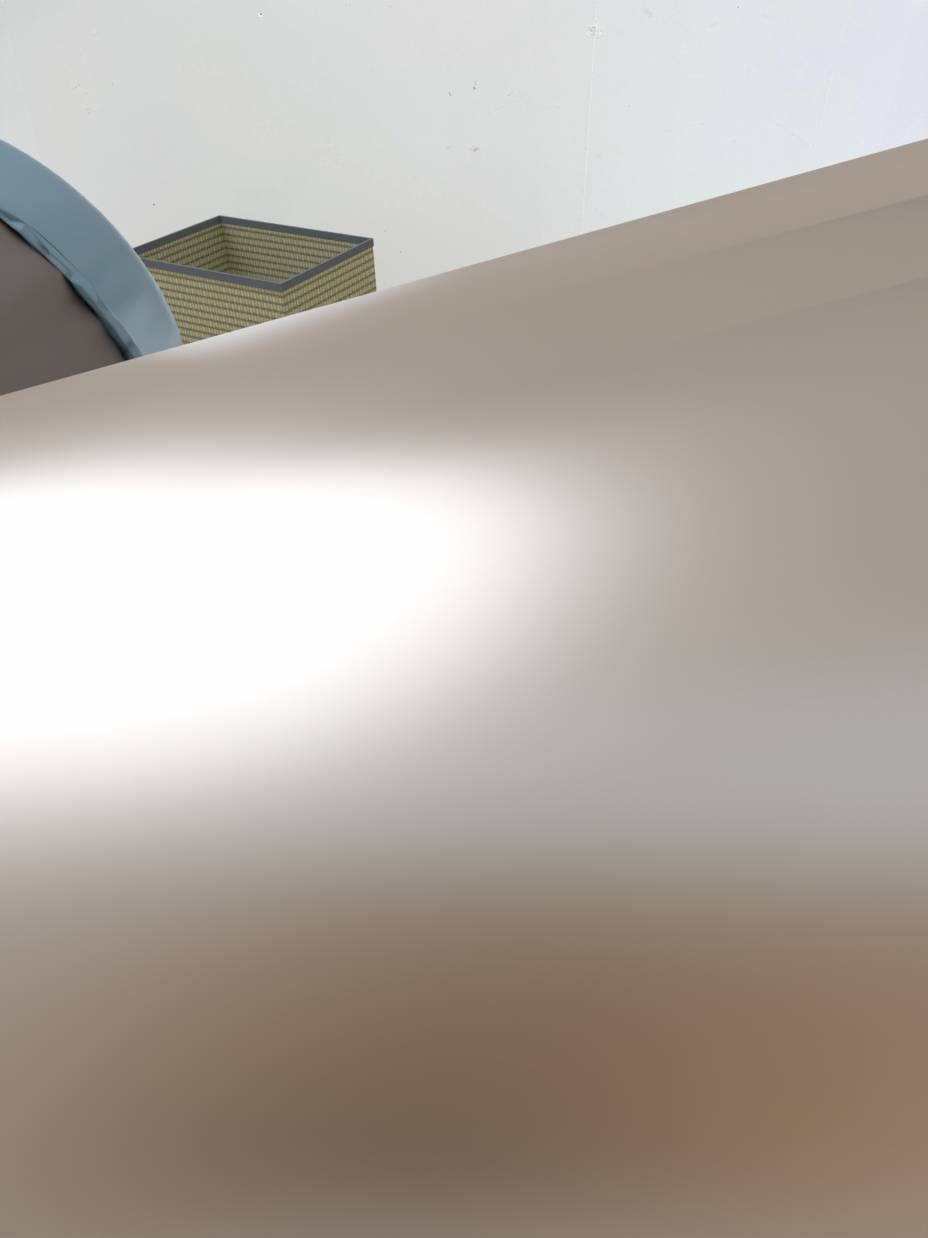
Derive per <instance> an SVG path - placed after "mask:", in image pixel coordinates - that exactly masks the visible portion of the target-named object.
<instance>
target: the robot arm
mask: <svg viewBox="0 0 928 1238" xmlns="http://www.w3.org/2000/svg"><path fill="white" fill-rule="evenodd" d="M133 248H134V247H133V246H132V245H131V244H130V243H129V241H128V240H127V239H126V238H125V237H124V236H123V235H122V233H121V232H120V231H119V229H118V228H117V227H116V226H115V225H114V224H113V223H112V222H111V221H110V220H109V219H108V218H107V216H105V215H104V214H103V213H102V212H101V211H100V210H99V209H98V207H96V206H95V205H94V204H93V203H92V202H91V201H90V200H89V199H88V198H86V196H84V195H83V194H82V193H81V192H80V191H78V190H77V189H76V188H75V187H74V186H73V185H72V184H70V183H69V182H68V181H67V180H66V179H64V178H63V177H61V176H60V175H58V174H57V173H56V172H55V171H53V170H52V169H51V168H49V167H48V166H46V165H44V164H43V163H42V162H41V161H39V160H38V159H36V158H34V157H32V156H31V155H29V154H28V153H26V152H25V151H23V150H21V149H19V148H18V147H16V146H14V145H13V144H10V143H8V142H7V141H5V140H3V139H1V138H0V1238H928V138H924V139H920V140H916V141H913V142H910V143H906V144H903V145H899V146H896V147H892V148H888V149H884V150H881V151H877V152H874V153H870V154H866V155H862V156H859V157H856V158H852V159H849V160H844V161H842V162H838V163H834V164H831V165H827V166H824V167H821V168H819V167H818V168H816V169H812V170H809V171H806V172H805V171H804V172H802V173H799V174H795V175H790V176H787V177H783V178H781V179H776V180H773V181H770V182H766V183H762V184H758V185H755V186H752V187H747V188H744V189H740V190H737V191H732V192H730V193H726V194H723V195H719V196H715V197H712V198H708V199H704V200H701V201H697V202H693V203H689V204H687V205H682V206H680V207H676V208H671V209H668V210H665V211H661V212H658V213H654V214H651V215H646V216H644V217H639V218H635V219H632V220H629V221H625V222H622V223H618V224H614V225H611V226H607V227H604V228H600V229H596V230H593V231H588V232H585V233H582V234H578V235H574V236H572V237H567V238H564V239H560V240H557V241H553V242H549V243H545V244H542V245H539V246H535V247H532V248H528V249H524V250H520V251H517V252H513V253H510V254H506V255H502V256H499V257H495V258H492V259H488V260H485V261H480V262H477V263H474V264H470V265H466V266H463V267H459V268H455V269H452V270H448V271H444V272H441V273H438V274H434V275H430V276H427V277H424V278H420V279H419V278H418V279H416V280H413V281H412V280H411V281H409V282H406V283H405V282H404V283H402V284H398V285H395V286H391V287H387V288H384V289H380V290H377V291H376V292H373V293H369V294H365V295H362V296H358V297H354V298H351V299H347V300H344V301H340V302H336V303H333V304H329V305H326V306H322V307H318V308H315V309H311V310H308V311H304V312H300V313H297V314H293V315H290V316H286V317H282V318H279V319H275V320H272V321H268V322H264V323H261V324H257V325H254V326H250V327H246V328H243V329H239V330H236V331H232V332H228V333H225V334H221V335H218V336H214V337H210V338H207V339H203V340H200V341H196V342H192V343H189V344H185V345H183V344H182V341H181V338H180V332H179V328H178V326H177V324H176V321H175V319H174V317H173V314H172V312H171V310H170V307H169V305H168V303H167V301H166V299H165V297H164V295H163V293H162V292H161V290H160V288H159V287H158V285H157V283H156V282H155V280H154V278H153V277H152V275H151V274H150V272H149V271H148V269H147V268H146V266H145V265H144V263H143V262H142V260H141V259H140V257H139V256H138V255H137V253H136V252H135V251H134V249H133Z"/></svg>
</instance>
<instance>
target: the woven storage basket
mask: <svg viewBox="0 0 928 1238" xmlns="http://www.w3.org/2000/svg"><path fill="white" fill-rule="evenodd" d="M374 246H375V241H374V238H373V237H367V236H361V235H356V234H347V233H343V232H334V231H328V230H322V229H321V230H320V229H315V228H307V227H300V226H294V225H289V224H288V225H287V224H281V223H276V222H275V223H274V222H269V221H261V220H255V219H248V218H241V217H234V216H228V215H223V214H218V215H216V216H213V217H210V218H208V219H204V220H203V221H200V222H197V223H194V224H192V225H190V226H186V227H184V228H182V229H179V230H176V231H173V232H170V233H169V234H166V235H163V236H161V237H158V238H156V239H153V240H150V241H147V242H145V243H142V244H139V245H137V246H133V247H132V248H133V249H134V251H135V252H136V253H137V255H138V256H139V257H140V259H141V260H142V262H143V263H144V265H145V266H146V268H147V269H148V271H149V272H150V274H151V275H152V277H153V278H154V280H155V282H156V283H157V285H158V287H159V288H160V290H161V292H162V293H163V295H164V297H165V299H166V301H167V303H168V305H169V307H170V310H171V312H172V314H173V317H174V319H175V321H176V324H177V326H178V328H179V332H180V338H181V341H182V344H183V345H185V344H189V343H192V342H196V341H200V340H203V339H207V338H210V337H214V336H218V335H221V334H225V333H228V332H232V331H236V330H239V329H243V328H246V327H250V326H254V325H257V324H261V323H264V322H268V321H272V320H275V319H279V318H282V317H286V316H290V315H293V314H297V313H300V312H304V311H308V310H311V309H315V308H318V307H322V306H326V305H329V304H333V303H336V302H340V301H344V300H347V299H351V298H354V297H358V296H362V295H365V294H369V293H373V292H376V291H378V289H377V280H376V279H377V278H376V277H377V276H376V268H375V267H376V266H375V254H374Z"/></svg>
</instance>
